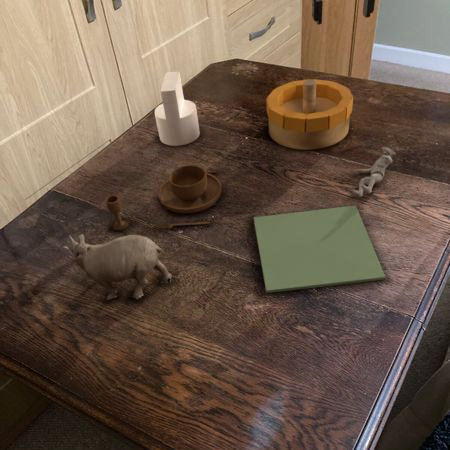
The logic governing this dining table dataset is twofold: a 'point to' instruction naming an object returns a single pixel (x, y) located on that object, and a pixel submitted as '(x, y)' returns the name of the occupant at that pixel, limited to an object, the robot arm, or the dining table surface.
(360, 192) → the soldier figure
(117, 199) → the place setting
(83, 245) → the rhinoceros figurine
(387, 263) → the dining table surface
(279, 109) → the ring
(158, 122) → the base with upright slab
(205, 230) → the dining table surface
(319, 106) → the ring stand
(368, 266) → the mat
